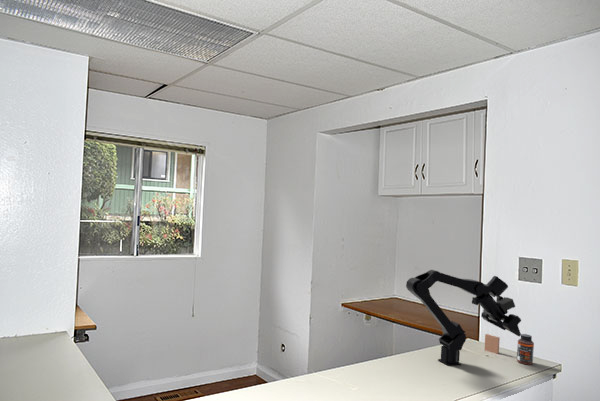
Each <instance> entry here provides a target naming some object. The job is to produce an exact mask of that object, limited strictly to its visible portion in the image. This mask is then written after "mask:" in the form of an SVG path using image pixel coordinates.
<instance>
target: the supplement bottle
mask: <svg viewBox="0 0 600 401" xmlns="http://www.w3.org/2000/svg"><path fill="white" fill-rule="evenodd" d="M534 348H535V343H534V342H533V340H532V335H530V334H527V333H521V336H520V338H518V340H517V349H516V350H517V352H516V361H517V362H518V363H519V364H522V365H527V366H530V365H533V362H534Z"/></svg>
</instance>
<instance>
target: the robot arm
mask: <svg viewBox="0 0 600 401" xmlns="http://www.w3.org/2000/svg"><path fill="white" fill-rule="evenodd" d="M436 282H439V283H442V284H445V285H449V286H453V287H456V288H458V289H461V290H462V291H464V292H466V293H467V294H470V295H473V296H472V301H471V304H473V305H475V306H478V305H480V307H481V308H482V312H481V318H482V319H483V321H486V322H487V323H490V324H491V325H493V326H495V327H498V328H500V329H501V330H503V331H506V330H507V331H508V332H510V333H512V334H513V335H514V336H515V335H516V336H517V337H521V334H522V333H521V331H520V328H519V324H520V323H521V321H522V318H521V317H519V315H517V314H511V313H509V310H511V309H514V308H515V307H516V304H515V302H514V299H513V298H510V297H507V296H506V297H505V296H502V294H503V293H504V292H505V291H506V290H508V288H509V286H508V284H507V283H506V282H505V281H504V280H502V279H501V278H499V277H498V276H496V275H493V276H492V278H491V279H490V280H489V281H488V282H487V283H486V284H485V283H483V282H481V281H478V280H476V279H472V278H471V279H470V278H459V277H457V276H453V275H449V274H447V273H443V272H440V271H438V270H434V269H430V270H428V271H426V272H423V273H422V274H418V275H416V276H415V277H410V278H409V279H408V280H407V281H406V285H405V287H406V290H407V291H409V293H411V294H412V295H413V296H414V297H416V298H417V299H418V300H419V301H421V303H422V304H423V305H424V306H425V308H426V309H427V310H428V312H429V313H430V314H431V315H432V317H433V318H434V320H435V321H436V322H437V323H438V325H439V326H440V327H441V331H442V335H441V336H440V337H439V338H438V341H439V344H440V345H441V347H440V349H441V350H440V358H437V361H439V362H441V363H442V364H444V365H446V366H449V367H450V366H460V365H462V363H461V362H460V353H461V351H462V349H463V346H464V344H466V343H465V342H466V340H467V335H466V331H465V330H464V329H463V328H462V325H461V324H460V323H458V322H455V321H453V320H450V319H449V317H448V316H447V315H446V313H445V312H444V311H443V309H442V308H441V307H440V305H438V303H437V302H436V301H435V299H434V298H433V297H432V296H431V292H430V288H432V287H433V285H434V284H435V283H436ZM495 297H496V300H495V299H494V298H495ZM508 313H509V314H508Z"/></svg>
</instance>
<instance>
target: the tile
mask: <svg viewBox="0 0 600 401" xmlns="http://www.w3.org/2000/svg"><path fill="white" fill-rule="evenodd" d="M500 340H501V339H500V336H495V335H492V334H488V333H485V335H484V351H487V352H488V353H489V352H490V353H493V354H496V355H499V354H500Z"/></svg>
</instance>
